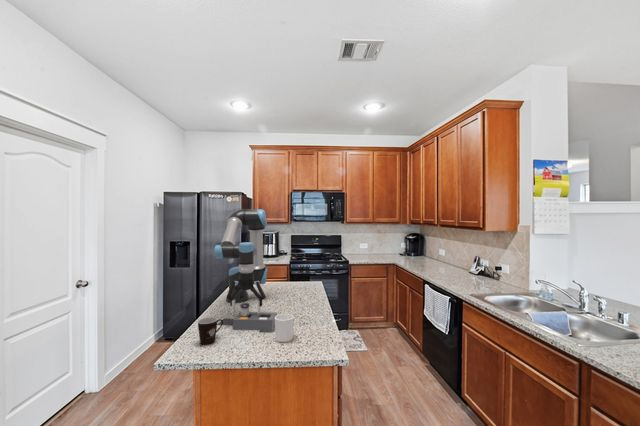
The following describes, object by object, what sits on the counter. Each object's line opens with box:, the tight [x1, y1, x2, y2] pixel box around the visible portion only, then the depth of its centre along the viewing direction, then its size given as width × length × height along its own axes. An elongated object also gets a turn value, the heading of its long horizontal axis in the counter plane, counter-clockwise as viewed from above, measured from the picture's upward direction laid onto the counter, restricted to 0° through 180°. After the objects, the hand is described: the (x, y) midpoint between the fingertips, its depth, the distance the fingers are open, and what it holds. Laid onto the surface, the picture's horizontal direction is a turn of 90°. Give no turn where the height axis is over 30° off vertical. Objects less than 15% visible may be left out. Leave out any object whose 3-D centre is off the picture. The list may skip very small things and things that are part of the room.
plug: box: [240, 302, 250, 318], centre depth 151 cm, size 5×5×10 cm
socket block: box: [232, 311, 278, 333], centre depth 151 cm, size 12×20×6 cm, turn 87°
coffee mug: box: [197, 316, 224, 346], centre depth 134 cm, size 12×9×10 cm
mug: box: [274, 313, 295, 344], centre depth 137 cm, size 11×9×10 cm
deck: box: [217, 318, 234, 326], centre depth 157 cm, size 10×10×1 cm
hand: (246, 312), depth 151 cm, fingers open, 13 cm apart
